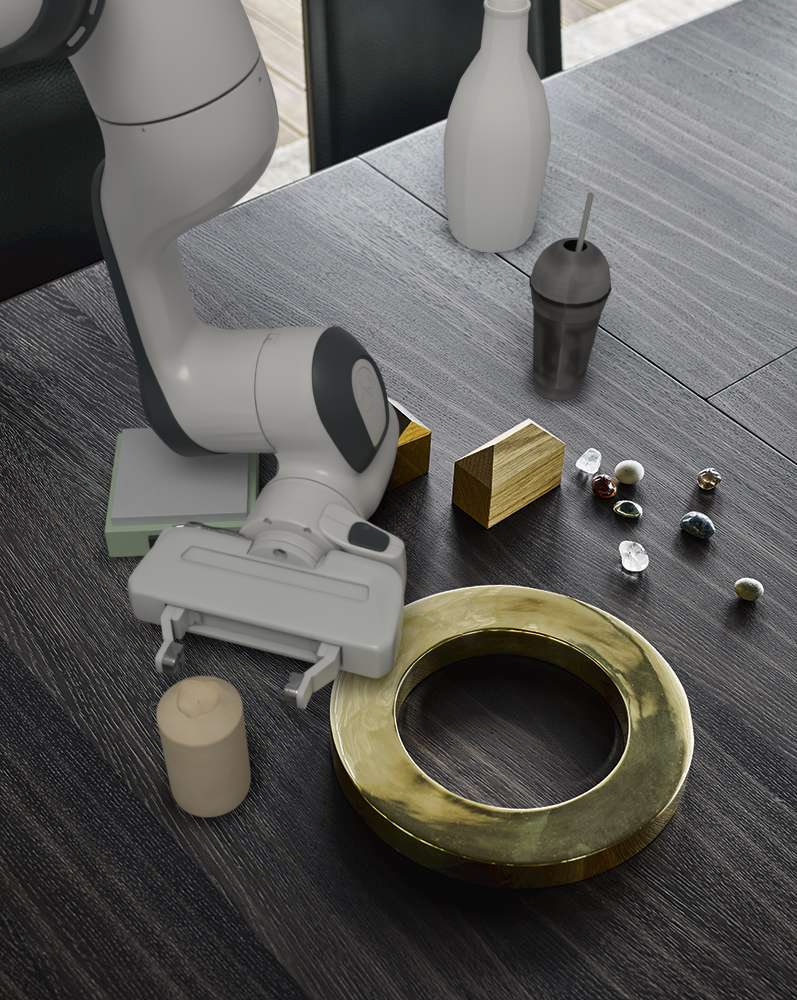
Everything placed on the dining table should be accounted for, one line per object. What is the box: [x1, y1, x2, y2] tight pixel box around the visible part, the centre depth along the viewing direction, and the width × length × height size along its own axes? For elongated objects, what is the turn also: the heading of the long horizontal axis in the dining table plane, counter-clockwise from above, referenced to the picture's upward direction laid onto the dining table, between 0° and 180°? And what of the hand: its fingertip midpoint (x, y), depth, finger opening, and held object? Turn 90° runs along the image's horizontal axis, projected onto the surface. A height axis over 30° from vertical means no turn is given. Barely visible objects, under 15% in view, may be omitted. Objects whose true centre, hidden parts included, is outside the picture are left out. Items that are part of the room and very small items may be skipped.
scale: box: [103, 427, 260, 558], centre depth 105 cm, size 12×12×4 cm
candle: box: [155, 675, 252, 818], centre depth 83 cm, size 6×6×10 cm
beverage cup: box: [528, 191, 612, 402], centre depth 112 cm, size 7×7×20 cm
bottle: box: [443, 0, 552, 254], centre depth 129 cm, size 11×11×25 cm
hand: (228, 685), depth 86 cm, fingers open, 8 cm apart
